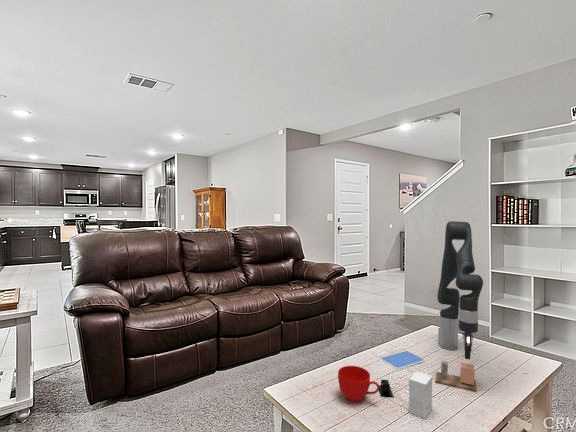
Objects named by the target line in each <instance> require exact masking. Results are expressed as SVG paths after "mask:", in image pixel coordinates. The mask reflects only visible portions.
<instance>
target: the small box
mask: <svg viewBox="0 0 576 432" xmlns="http://www.w3.org/2000/svg"><path fill="white" fill-rule="evenodd" d="M408 382H409V383H408V412H409V413H410V414H413V415H415V416H417V417H420V418H422V419H426V418H427V417H428V415H430V412H431V410H432V408H433V375H430V374H426V373H425V372H424V373H423V372H421V371H415V372H414V373H413V374H412V375H411V376H410V378H409V379H408Z"/></svg>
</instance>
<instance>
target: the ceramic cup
mask: <svg viewBox="0 0 576 432" xmlns="http://www.w3.org/2000/svg"><path fill="white" fill-rule="evenodd" d="M337 380H338V386H339V389H340V391H341V393H342V395H343V396H344V397H345V399H346V400H347V401H349V402H354V403H355V402H360V401H362V400H363V398H365V397H366V395H374V394H376V393H378V392H379V385H380V384H379V383H378V382H377V381H373V380H371V374H370V372H369V370H367V369H366V368H364V367H360V366H357V365H346V366H342V367H341V368H339V370H338V371H337ZM370 380H371V381H370ZM370 385H375V386H376V390H374V391H369V388H370Z"/></svg>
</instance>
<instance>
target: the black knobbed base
mask: <svg viewBox="0 0 576 432" xmlns="http://www.w3.org/2000/svg"><path fill="white" fill-rule="evenodd" d="M378 385H379V390H378V392H379V397H380V398H393V399H394V398H395V396H394V393H393V392H392V389H391V386H390V382H389V380H388V379H380V384H378Z"/></svg>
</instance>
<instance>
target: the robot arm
mask: <svg viewBox="0 0 576 432" xmlns="http://www.w3.org/2000/svg"><path fill="white" fill-rule="evenodd" d="M444 232H445V236H444V247H443V248H444V250H443V256H442V260H441V261H442V263H441V271H440V272H441V274H440V280H439V284H438V290H437V296H436V297H437V301H438V303H439V304H440V305H445V306H448V305H449V307H447V308H443V309H441V310H440V312H439V327H438V332H437V333H438V337H437V338H438V339H437V340H438V341H437V344H438V345H439V347H440V348H441V349H444V350H448V351H456V350H458V347H459V330H460V331H461V332H462V339H463V341H462V343H463V344H462V345H463V346H464V347H463V348H464V359H465V360H471V354H472V353H471V352H472V348H473V343H474V342H473V341H474V334H475V333H476V334H477V333H478V331H479V312H478V311H479V310H478V309H479V298H480V294H481V291H482V290H483V286H484V280H483V278H482V276H481V275H479V274H473V273H475V270H476V266H475V261H474V256H473V255H474V254H473V236H472V228H471V224H470V223H469V222H467V221H455V220H454V221H448V222H447V223H446V226H445V231H444ZM454 240H455V241H464V242H463V244H462V245H461V247H459V249H458V251H457V249H456V248H455V246H454V244H453V241H454ZM454 280H455V286H456V287H457V288H455V287H449V285H450V284H451V283H452V281H453V282H454ZM460 290H461V291H471V292H470V293H468V294H462V295H460Z"/></svg>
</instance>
